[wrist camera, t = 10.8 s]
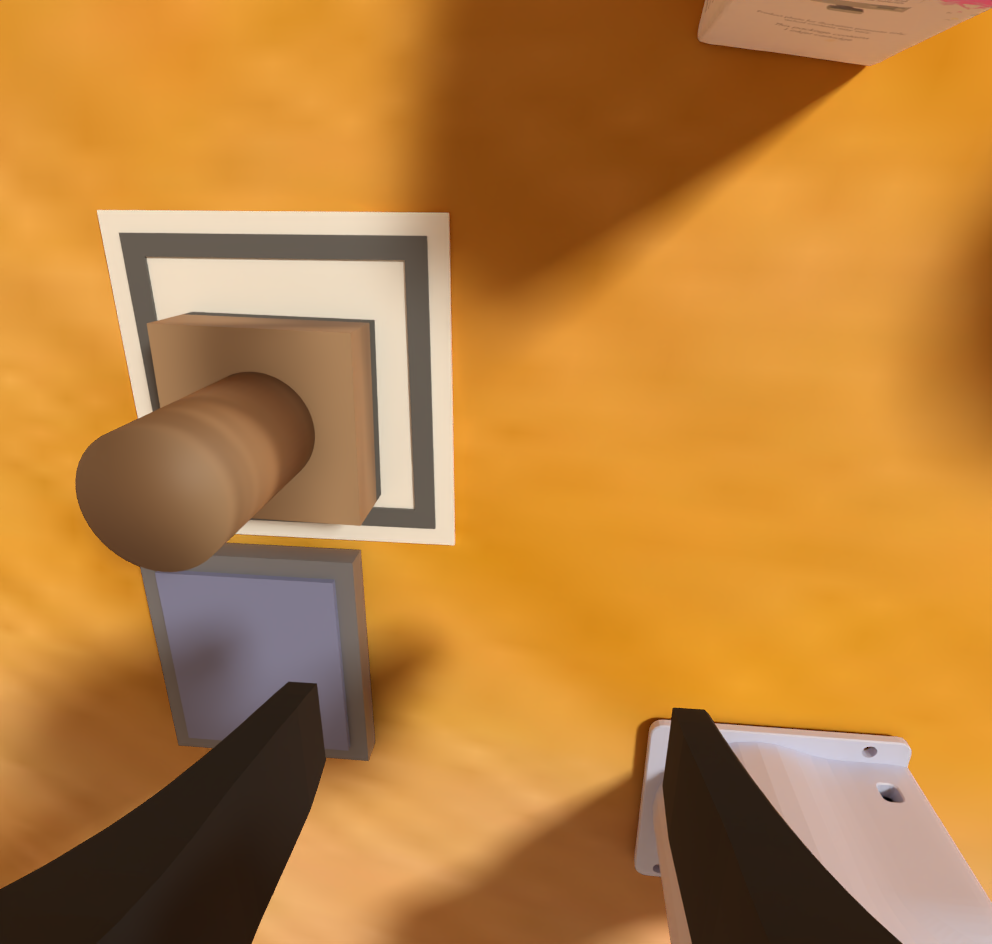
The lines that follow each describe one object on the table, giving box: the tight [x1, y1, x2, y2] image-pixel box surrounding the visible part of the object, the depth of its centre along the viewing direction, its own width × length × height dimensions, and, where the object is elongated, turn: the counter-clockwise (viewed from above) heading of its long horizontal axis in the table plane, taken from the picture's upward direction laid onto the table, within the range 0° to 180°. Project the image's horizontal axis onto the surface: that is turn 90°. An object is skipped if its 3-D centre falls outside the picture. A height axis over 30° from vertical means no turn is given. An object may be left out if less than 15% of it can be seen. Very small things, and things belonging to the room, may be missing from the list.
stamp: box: [76, 312, 381, 572], centre depth 18 cm, size 6×6×8 cm
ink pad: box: [140, 543, 375, 761], centre depth 25 cm, size 8×9×1 cm
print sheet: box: [97, 210, 455, 545], centre depth 22 cm, size 11×11×1 cm
